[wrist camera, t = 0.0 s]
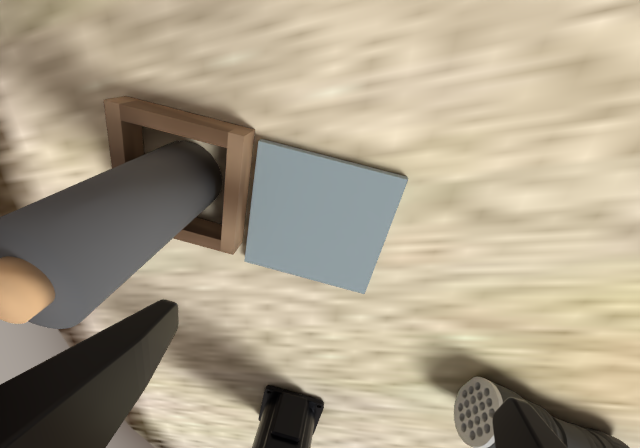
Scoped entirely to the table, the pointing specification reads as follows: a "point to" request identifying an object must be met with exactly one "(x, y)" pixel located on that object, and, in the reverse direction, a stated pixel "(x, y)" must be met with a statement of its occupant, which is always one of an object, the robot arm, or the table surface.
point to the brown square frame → (134, 113)
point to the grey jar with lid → (99, 233)
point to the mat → (319, 215)
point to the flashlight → (486, 397)
